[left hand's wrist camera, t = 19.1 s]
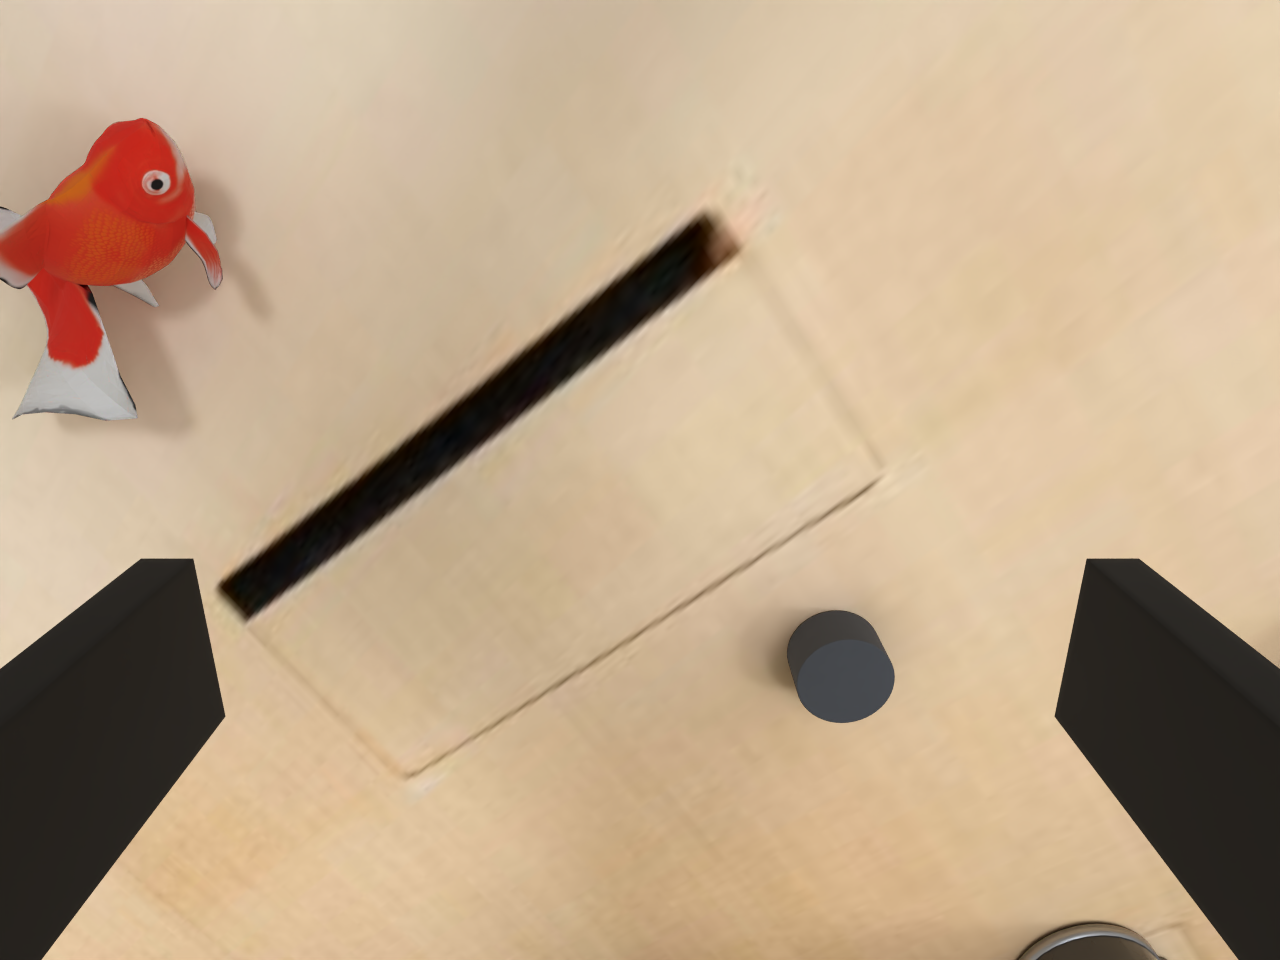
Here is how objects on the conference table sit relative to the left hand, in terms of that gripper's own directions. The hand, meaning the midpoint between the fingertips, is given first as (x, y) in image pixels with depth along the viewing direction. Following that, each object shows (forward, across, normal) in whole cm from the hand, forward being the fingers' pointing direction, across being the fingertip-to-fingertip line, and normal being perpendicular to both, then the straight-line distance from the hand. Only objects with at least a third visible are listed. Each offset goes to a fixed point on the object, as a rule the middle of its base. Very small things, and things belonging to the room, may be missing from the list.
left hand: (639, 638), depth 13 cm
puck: (+29, +10, -18) cm, 35 cm away
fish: (+29, -23, +2) cm, 37 cm away
